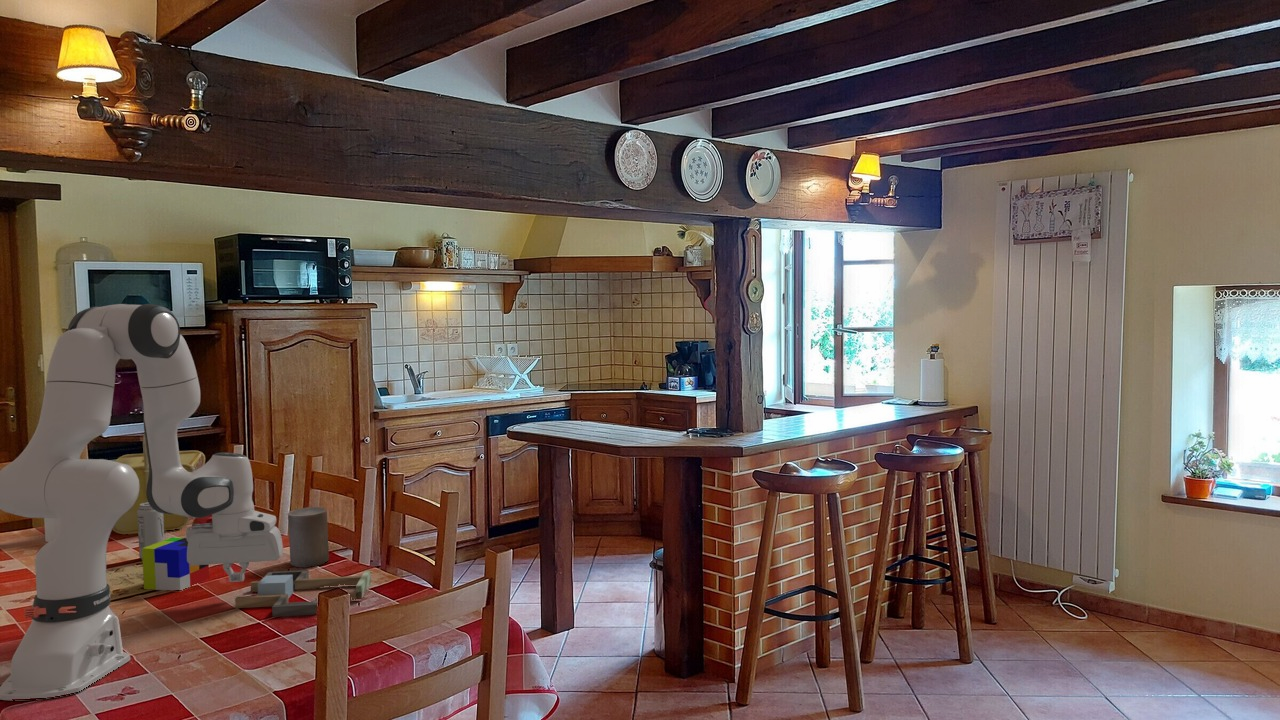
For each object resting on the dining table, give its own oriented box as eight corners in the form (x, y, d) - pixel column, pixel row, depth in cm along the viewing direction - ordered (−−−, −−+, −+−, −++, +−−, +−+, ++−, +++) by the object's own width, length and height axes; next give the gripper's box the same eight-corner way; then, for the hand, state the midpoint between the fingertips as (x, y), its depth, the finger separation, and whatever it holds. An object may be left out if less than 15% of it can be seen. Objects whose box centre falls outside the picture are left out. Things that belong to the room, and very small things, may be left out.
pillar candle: (334, 556, 234) (331, 501, 233) (322, 567, 224) (319, 509, 224) (297, 557, 234) (295, 502, 233) (284, 568, 224) (281, 511, 223)
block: (285, 601, 199) (285, 582, 198) (258, 603, 198) (257, 583, 198) (293, 593, 205) (292, 574, 204) (266, 594, 204) (266, 575, 204)
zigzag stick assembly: (355, 612, 191) (355, 596, 191) (224, 619, 187) (224, 603, 187) (375, 575, 217) (375, 561, 217) (261, 581, 214) (260, 567, 213)
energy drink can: (163, 560, 233) (161, 504, 232) (137, 563, 230) (135, 507, 229) (166, 554, 238) (164, 500, 237) (141, 557, 236) (139, 502, 235)
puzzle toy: (180, 591, 207) (178, 550, 206) (143, 589, 209) (142, 548, 208) (209, 578, 216) (207, 539, 216) (174, 576, 218) (172, 537, 218)
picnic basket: (119, 517, 283) (115, 425, 281) (207, 509, 292) (204, 420, 290) (99, 539, 256) (94, 437, 254) (197, 530, 265) (193, 432, 263)
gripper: (180, 528, 195) (183, 588, 196) (276, 523, 198) (279, 582, 199) (190, 520, 201) (193, 579, 202) (283, 516, 204) (286, 573, 205)
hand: (236, 580), depth 201 cm, fingers closed
